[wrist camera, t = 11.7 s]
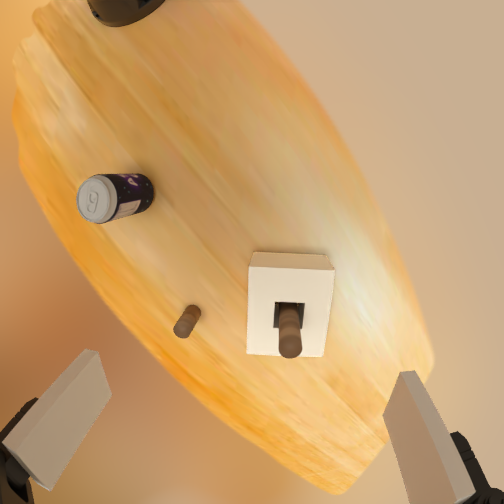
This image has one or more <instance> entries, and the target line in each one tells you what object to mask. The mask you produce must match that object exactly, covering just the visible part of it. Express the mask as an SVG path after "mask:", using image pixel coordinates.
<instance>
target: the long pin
mask: <svg viewBox="0 0 504 504" xmlns="http://www.w3.org/2000/svg"><path fill="white" fill-rule="evenodd" d="M301 352H302V340H301V332H300V324H299V316H298V309H297V303H296V302H279V353H280V354H281V355H282V356H283V357H285V358H295V357H297V356H299V355H300V354H301Z"/></svg>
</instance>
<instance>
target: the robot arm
mask: <svg viewBox="0 0 504 504" xmlns="http://www.w3.org/2000/svg"><path fill="white" fill-rule="evenodd" d="M87 2H88V4H89V6H90V9H91V11H92V13H93V15H94V17H95V18H96V19H97V20H99V21H100V22H101V23H103V24H104V25H106V26H111V27H118V26H124V25H127V24H130V23H133V22H135V21H138V20H140V19H141V18H143V17H145V16H147V15H148V14H150V13H151V12H152V11H154V10H155V9H156V8H157V7H158V6H160V5H161V4H162V3H163V2H164V0H87ZM111 396H112V393H111V390H110V387H109V384H108V382H107V379H106V376H105V373H104V369H103V366H102V363H101V360H100V356H99V353H98V352H97V351H92V350H89V349H85V350H84V351H83V352H82V353H81V354H80V355H79V356H78V357H77V358H76V359H75V360H74V361H73V362H72V363H71V364H70V365H69V366H68V368H67V369H66V370H65V371H64V372H63V373H62V374H61V375H60V376H59V377H58V378H57V379H56V380H55V382H54V383H53V384H52V385H51V386H50V387H49V388H48V389H47V390H46V391H45V393H44V394H43V395H42V396H41V397H40V398H39V399H38V398H34V399H32V400H30V401H29V402H27V403H26V404H25V405H24V406H23V407H22V408H21V410H20V412H18V413H17V414H16V415H15V417H13V418H12V419H11V421H10V422H9V423H8V424H7V425H6V426H5V428H4V429H3V430H2V431H1V432H0V504H34V499H33V494H32V489H31V484H30V482H29V480H28V478H29V477H30V476H31V477H32V478H33V480H34V481H35V482H36V483H37V484H39V485H41V486H42V487H44V488H46V489H47V490H49V491H51V490H52V489H53V487H54V485H55V484H56V482H57V480H58V479H59V477H60V475H61V474H62V472H63V471H64V469H65V467H66V466H67V464H68V462H69V461H70V459H71V458H72V456H73V455H74V453H75V451H76V450H77V448H78V447H79V445H80V443H81V442H82V440H83V439H84V437H85V436H86V434H87V433H88V431H89V430H90V428H91V426H92V425H93V423H94V422H95V420H96V419H97V417H98V416H99V414H100V413H101V411H102V410H103V408H104V407H105V405H106V404H107V402H108V401H109V399H110V398H111ZM383 418H384V421H385V424H386V427H387V430H388V433H389V436H390V439H391V442H392V445H393V448H394V451H395V454H396V457H397V461H398V464H399V467H400V471H401V474H402V477H403V481H404V484H405V488H406V491H407V494H408V498H409V502H410V504H504V492H502V491H501V490H499V489H497V488H491V487H490V485H489V484H488V482H487V480H486V478H485V475H484V473H483V471H482V469H481V467H480V465H479V463H478V461H477V459H476V458H475V455H474V453H473V451H471V447H470V445H469V443H468V441H467V439H466V438H465V437H464V436H462V435H461V434H460V433H459V432H458V431H457V432H454V433H450V434H449V432H448V430H447V428H446V426H445V424H444V422H443V420H442V418H441V416H440V414H439V413H438V411H437V409H436V407H435V405H434V403H433V401H432V400H431V398H430V396H429V394H428V392H427V391H426V389H425V387H424V385H423V384H422V382H421V380H420V378H419V377H418V375H417V373H416V371H415V370H414V371H406V372H400V373H399V376H398V379H397V381H396V384H395V387H394V389H393V392H392V394H391V397H390V399H389V402H388V404H387V406H386V409H385V411H384V413H383Z"/></svg>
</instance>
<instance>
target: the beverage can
mask: <svg viewBox="0 0 504 504" xmlns="http://www.w3.org/2000/svg"><path fill="white" fill-rule="evenodd" d="M153 194H154V192H153V186H152V184H151V182H150V180H149V179H148V178H147V177H146V176H144V175H142V174H98V175H94V176H92V177H90V178H89V179H87V180H86V181H84V182H83V183H82V184H81V186H80V187H79V190H78V192H77V199H76V201H77V208H78V210H79V213H80V214H81V216H82V217H83V218H84V219H86V220H87V221H90V222H94V223H97V224H102V223H106V222H109V221H112V220H116V219H119V218H123V217H126V216H129V215H133V214H136V213H140V212H143V211H145V210H146V209H147V208H148V207H149V206H150V204H151V202H152V200H153Z"/></svg>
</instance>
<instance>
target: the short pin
mask: <svg viewBox="0 0 504 504" xmlns="http://www.w3.org/2000/svg"><path fill="white" fill-rule="evenodd" d="M200 315H201V311H200V309H199V308H198V307H197V306H195V305H190V306H188V307H187V308H186V310H185V311H184V313H183V314H182V316H181V317H180V318H179V320H178V321H177V323H176V324H175V326H174V328H173V330H174V333H175V334H176V336H178V337H179V338H187V337H189V335H190V333H191V332H192V330H193V328H194V326H195V324H196V323H197V321H198V319H199V317H200Z"/></svg>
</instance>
